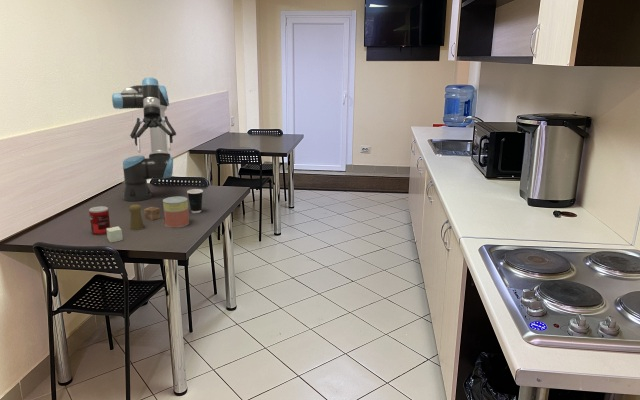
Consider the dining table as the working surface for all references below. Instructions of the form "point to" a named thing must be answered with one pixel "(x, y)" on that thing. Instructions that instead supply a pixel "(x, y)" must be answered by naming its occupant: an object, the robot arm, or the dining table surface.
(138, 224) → the cork
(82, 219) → the dining table surface
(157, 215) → the walnut cube
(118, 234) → the sage cube
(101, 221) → the canned food
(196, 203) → the dixie cup
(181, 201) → the canned food
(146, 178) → the robot arm
